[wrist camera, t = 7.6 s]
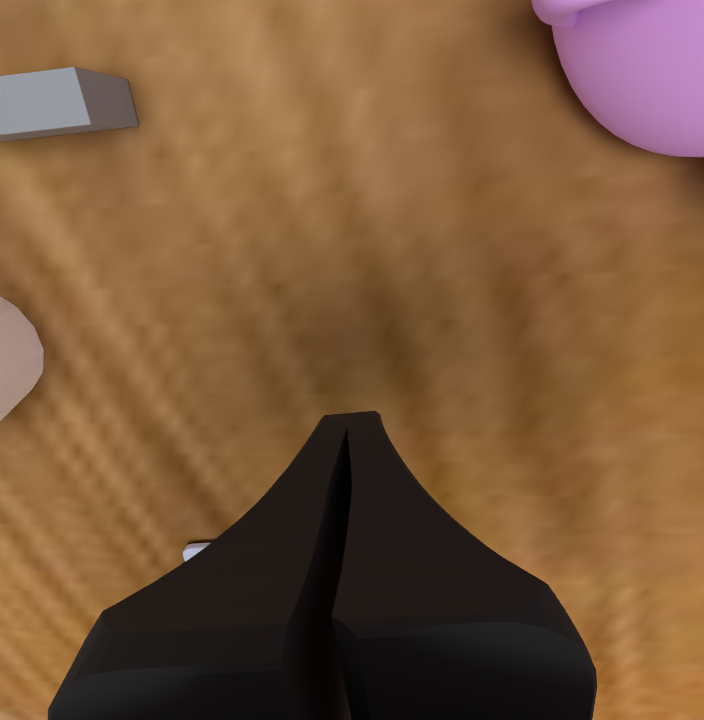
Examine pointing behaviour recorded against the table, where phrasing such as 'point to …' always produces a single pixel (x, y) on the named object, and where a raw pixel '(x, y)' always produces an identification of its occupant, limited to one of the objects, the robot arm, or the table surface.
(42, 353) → the shot glass
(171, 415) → the table surface
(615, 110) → the teapot
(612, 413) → the table surface
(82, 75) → the l-shaped bracket
